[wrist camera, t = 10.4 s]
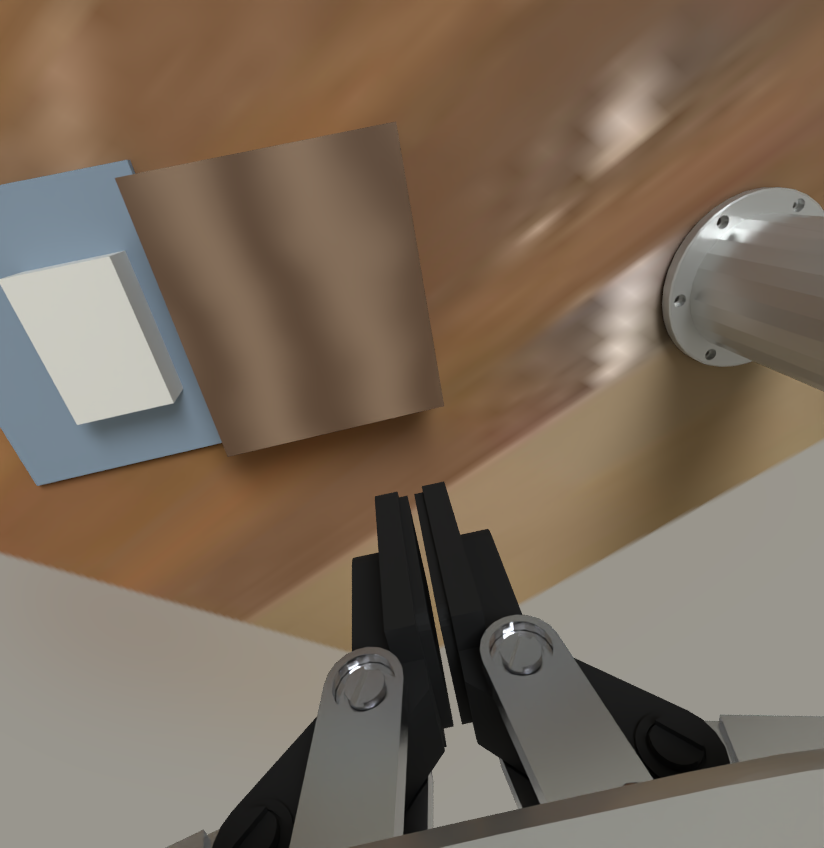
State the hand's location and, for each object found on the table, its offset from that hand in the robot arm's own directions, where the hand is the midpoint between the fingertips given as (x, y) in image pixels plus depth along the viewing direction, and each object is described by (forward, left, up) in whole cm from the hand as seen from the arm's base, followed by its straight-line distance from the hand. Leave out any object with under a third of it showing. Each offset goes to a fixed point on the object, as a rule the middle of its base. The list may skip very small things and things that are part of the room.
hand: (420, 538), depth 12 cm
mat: (+18, -2, -25) cm, 30 cm away
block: (+16, -2, -22) cm, 27 cm away
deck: (+3, -2, -25) cm, 25 cm away
